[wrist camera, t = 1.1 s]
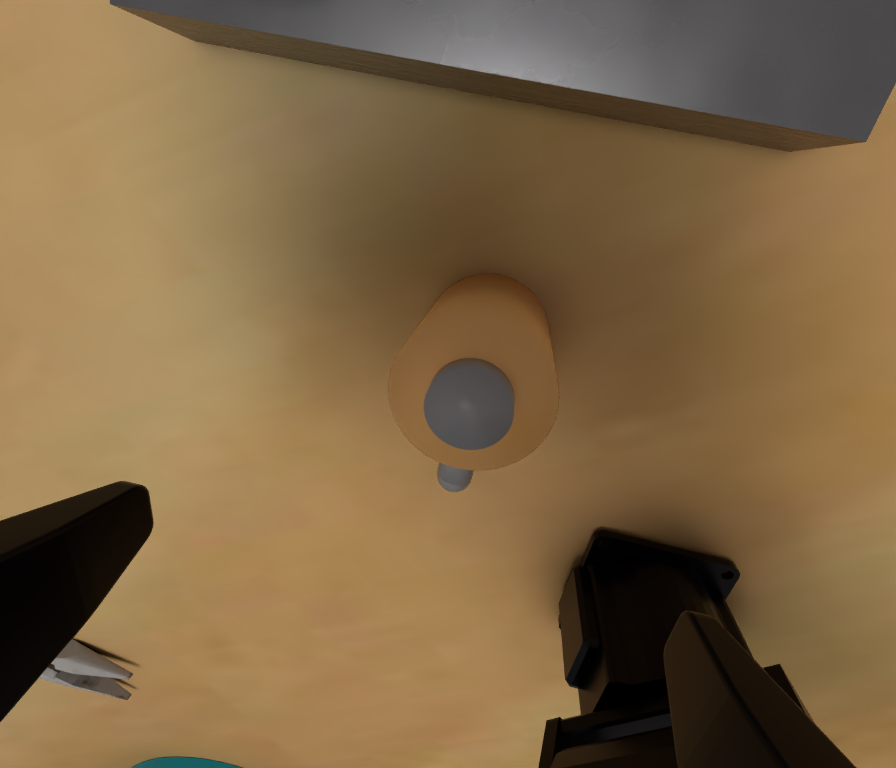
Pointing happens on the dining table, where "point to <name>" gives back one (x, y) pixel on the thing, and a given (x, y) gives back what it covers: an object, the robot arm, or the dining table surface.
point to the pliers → (87, 671)
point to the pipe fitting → (183, 763)
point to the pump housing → (476, 379)
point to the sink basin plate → (596, 55)
